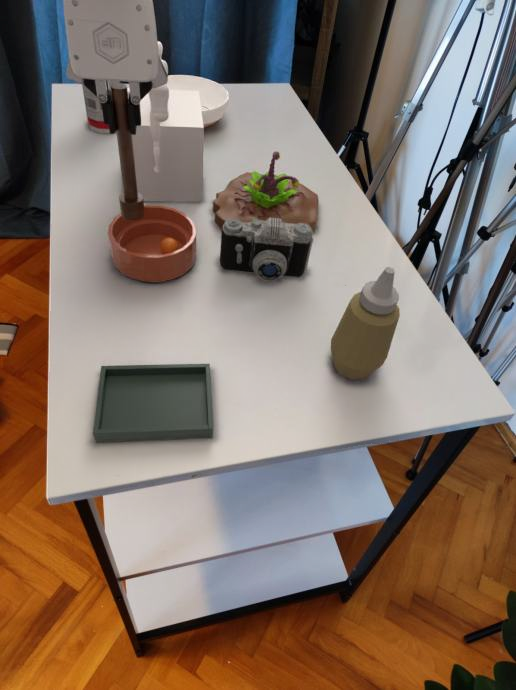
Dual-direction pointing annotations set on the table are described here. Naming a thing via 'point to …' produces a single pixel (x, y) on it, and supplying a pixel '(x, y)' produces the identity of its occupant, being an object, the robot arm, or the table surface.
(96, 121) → the spray bottle
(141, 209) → the brown wooden rod
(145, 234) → the copper shallow cylinder
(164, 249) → the ball
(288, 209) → the plant
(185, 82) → the bowl
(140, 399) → the spoon tray
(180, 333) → the table surface
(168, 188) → the white figure sculpture
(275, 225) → the camera
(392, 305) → the squeeze bottle
